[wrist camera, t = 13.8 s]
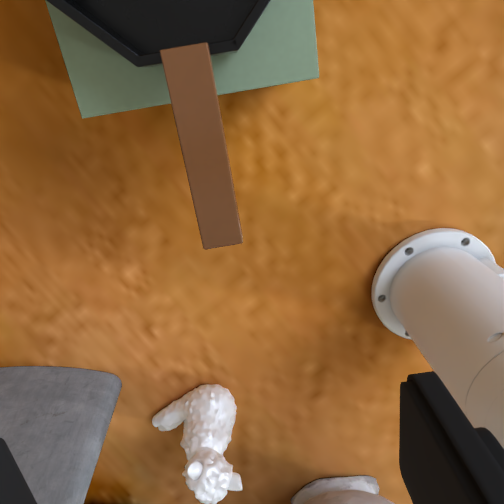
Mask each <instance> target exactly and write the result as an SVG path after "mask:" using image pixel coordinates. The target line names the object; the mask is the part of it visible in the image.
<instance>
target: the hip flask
mask: <svg viewBox="0 0 504 504" xmlns="http://www.w3.org/2000/svg"><path fill="white" fill-rule="evenodd" d="M121 387H122V383H121V380H120V379H119V378H118V377H117V376H116V375H114V374H111V373H106V372H101V371H95V370H88V369H79V368H68V367H49V366H20V367H3V368H0V438H2V439H4V440H5V442H6V444H7V446H8V448H9V450H10V451H11V453H12V455H13V457H14V459H15V461H16V463H17V465H18V467H19V469H20V471H21V473H22V475H23V477H24V479H25V481H26V483H27V484H28V486H29V488H30V490H31V492H32V494H33V496H34V498H35V500H36V502H37V504H83V503H84V500H85V497H86V494H87V491H88V488H89V485H90V482H91V479H92V476H93V473H94V470H95V467H96V464H97V461H98V458H99V455H100V451H101V448H102V445H103V442H104V439H105V436H106V433H107V430H108V427H109V424H110V421H111V418H112V415H113V412H114V409H115V406H116V403H117V400H118V396H119V393H120V390H121Z"/></svg>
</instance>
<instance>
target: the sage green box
mask: <svg viewBox="0 0 504 504" xmlns="http://www.w3.org/2000/svg"><path fill="white" fill-rule="evenodd" d="M45 1H46V0H45ZM46 4H47V8H48V11H49V14H50V17H51V20H52V24H53V27H54V30H55V33H56V36H57V40H58V43H59V46H60V49H61V52H62V55H63V59H64V62H65V65H66V68H67V71H68V75H69V78H70V81H71V84H72V87H73V91H74V94H75V97H76V100H77V103H78V107H79V110H80V113H81V116H82V118H89V117H94V116H100V115H106V114H112V113H118V112H124V111H129V110H135V109H141V108H147V107H153V106H159V105H164V104H170V103H171V100H170V96H169V91H168V87H167V82H166V78H165V73H164V69H163V65H160V66H154V67H136V66H135V65H134V64H132V63H131V62H129V61H128V60H127V59H125V58H124V57H123V56H121V55H120V54H119V53H117V52H116V51H114V50H113V49H112V48H110V47H109V46H108V45H106V44H105V43H104V42H102V41H101V40H99V39H98V38H97V37H95V36H94V35H93V34H91V33H90V32H89V31H87V30H86V29H84V28H83V27H82V26H80V25H79V24H78V23H76V22H75V21H73V20H72V19H71V18H69V17H68V16H67V15H65V14H64V13H63V12H61V11H60V10H58V9H57V8H56V7H54V6H53V5H52V4H50V3H49V2H48V1H46ZM211 61H212V66H213V72H214V78H215V83H216V89H217V95H223V94H228V93H234V92H240V91H246V90H252V89H258V88H263V87H269V86H275V85H281V84H287V83H292V82H298V81H304V80H310V79H316V78H319V68H318V56H317V44H316V32H315V20H314V7H313V0H271V1H270V2H269V4H268V6H267V7H266V9H265V10H264V12H263V13H262V15H261V16H260V18H259V19H258V21H257V23H256V24H255V26H254V27H253V29H252V30H251V32H250V33H249V35H248V36H247V38H246V40H245V41H244V43H243V44H242V46H241V47H240V49H239V50H238V52H236V53H231V54H225V55H219V56H213V57H211Z"/></svg>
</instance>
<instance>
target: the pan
mask: <svg viewBox="0 0 504 504" xmlns="http://www.w3.org/2000/svg"><path fill="white" fill-rule="evenodd" d="M46 1H48V2H49V3H50V4H52V5H53V6H54V7H56V8H57V9H58V10H60V11H61V12H63V13H64V14H65V15H67V16H68V17H69V18H71V19H72V20H73V21H75V22H76V23H78V24H79V25H80V26H82V27H83V28H84V29H86V30H87V31H89V32H90V33H91V34H93V35H94V36H95V37H97V38H98V39H99V40H101V41H102V42H104V43H105V44H106V45H108V46H109V47H110V48H112V49H113V50H114V51H116V52H117V53H119V54H120V55H121V56H123V57H124V58H125V59H127V60H128V61H129V62H131V63H132V64H134V65H135V66H136V67H154V66H160V65H163V69H164V73H165V78H166V82H167V87H168V91H169V96H170V100H171V105H172V109H173V114H174V118H175V123H176V127H177V131H178V136H179V140H180V145H181V149H182V154H183V158H184V163H185V167H186V172H187V176H188V181H189V185H190V190H191V194H192V199H193V203H194V208H195V212H196V217H197V221H198V226H199V230H200V235H201V239H202V244H203V248H204V249H211V248H217V247H223V246H229V245H235V244H241V243H243V238H242V230H241V224H240V219H239V213H238V207H237V202H236V196H235V191H234V185H233V179H232V174H231V168H230V162H229V157H228V151H227V145H226V140H225V134H224V128H223V123H222V117H221V112H220V106H219V100H218V95H217V89H216V83H215V78H214V72H213V66H212V61H211V57H213V56H219V55H225V54H231V53H236V52H238V50H239V49H240V47H241V46H242V44H243V43H244V41H245V40H246V38H247V36H248V35H249V33H250V32H251V30H252V29H253V27H254V26H255V24H256V23H257V21H258V19H259V18H260V16H261V15H262V13H263V12H264V10H265V9H266V7H267V6H268V4H269V2H270V1H271V0H46Z"/></svg>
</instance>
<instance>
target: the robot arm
mask: <svg viewBox="0 0 504 504" xmlns="http://www.w3.org/2000/svg"><path fill="white" fill-rule="evenodd" d="M406 248H407V249H406ZM405 249H406V250H405ZM371 298H372V303H373V307H374V309H375V311H376V314H377V316H378V317H379V319H380V320H381V322H382V323H383V324H384V325H385V326H386V327H387V328H388V329H389V330H390V331H392V332H393V333H395V334H397V335H398V336H401V337H403V338H406V339H412V340H413V341H414V343H415V344H416V346H417V347H418V349H419V350H420V352H421V353H422V354H423V356H424V357H425V359H426V360H427V362H428V363H429V364H430V366H431V367H432V369H433V370H434V372H433V371H432V372H425V373H418V374H410V375H408V377H407V382H401V384H400V448H399V465H400V470H401V474H402V478H403V480H404V483H405V485H406V488H407V490H408V492H409V495H410V497H411V499H412V502H413V504H504V269H503V268H501V267H500V266H498V265H497V264H496V263H495V259H494V256H493V255H492V253H491V251H490V250H489V248H488V247H487V246H486V245H485V244H484V243H483V242H482V241H481V240H479V239H478V238H476V237H475V236H473V235H471V234H469V233H467V232H465V231H462V230H457V229H453V228H437V229H431V230H426V231H423V232H420V233H417V234H415V235H413V236H411V237H409V238H407V239H405V240H404V241H402V242H401V243H400V244H398V245H397V246H396V247H394V248H393V249H392V250H391V251H390V252H389V253H388V255H387V256H386V257H385V258H384V259H383V261H382V262H381V264H380V265H379V267H378V269H377V271H376V274H375V276H374V279H373V284H372V294H371ZM0 504H37V502H36V500H35V498H34V496H33V494H32V492H31V490H30V488H29V486H28V484H27V483H26V481H25V479H24V477H23V475H22V473H21V471H20V469H19V467H18V465H17V463H16V461H15V459H14V457H13V455H12V453H11V451H10V450H9V448H8V446H7V444H6V442H5V440H4V439H2V438H0Z"/></svg>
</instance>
